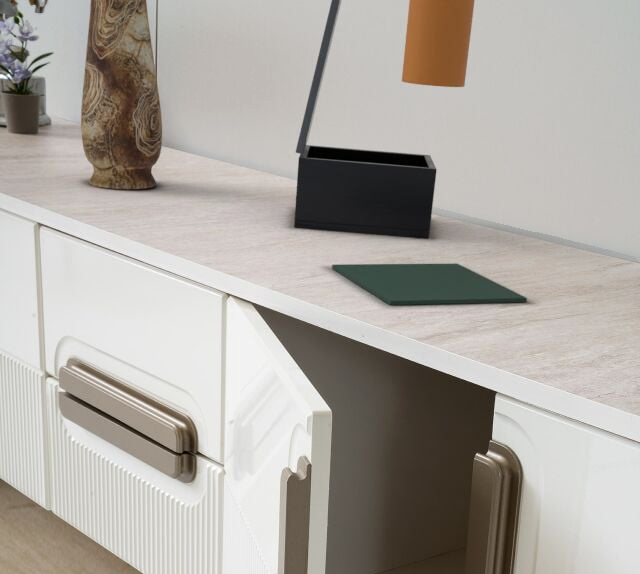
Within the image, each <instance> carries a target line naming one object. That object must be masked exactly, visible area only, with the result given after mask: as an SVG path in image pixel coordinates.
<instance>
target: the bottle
mask: <svg viewBox="0 0 640 574" xmlns="http://www.w3.org/2000/svg"><path fill="white" fill-rule="evenodd" d="M475 1H476V0H408V4H409V5H408V12H407V24H406V33H405V43H404V54H403V65H402V74H401V82H403V83H407V84H414V85H420V86H421V85H422V86H432V87H443V88H445V87H446V88H464V87H465V85H466V75H467V67H468V58H469V52H470V51H469V49H470V41H471V34H472V25H473V18H474V7H475Z"/></svg>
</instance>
